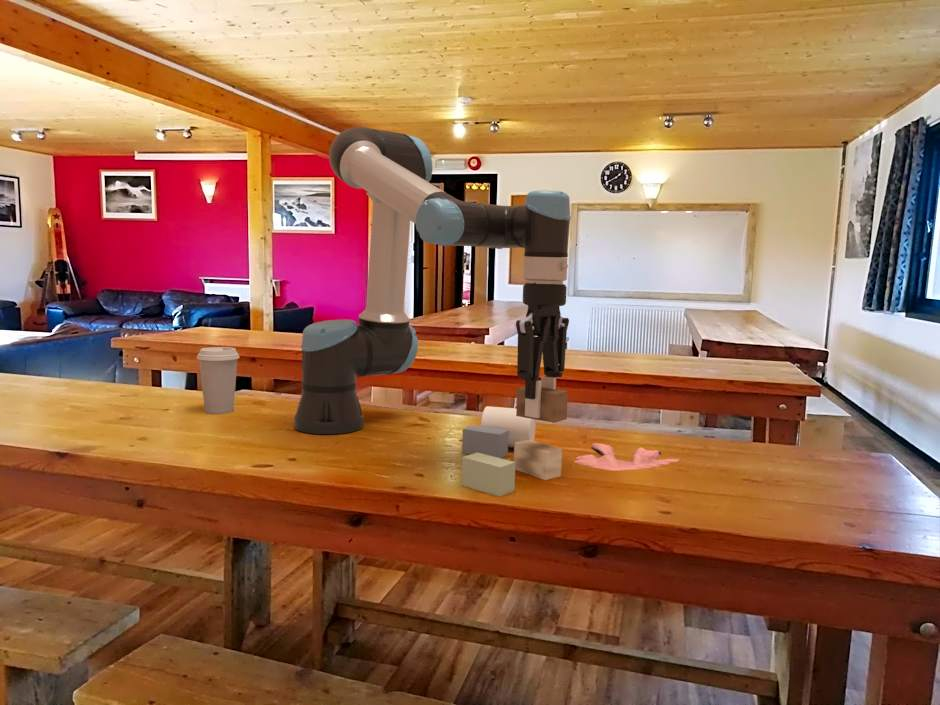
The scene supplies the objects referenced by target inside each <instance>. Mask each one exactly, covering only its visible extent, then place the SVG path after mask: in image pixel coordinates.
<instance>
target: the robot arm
mask: <svg viewBox="0 0 940 705" xmlns="http://www.w3.org/2000/svg"><path fill="white" fill-rule="evenodd" d="M328 157H329V158H328V160H329V164H330V168H331V169H332V171H333V173H334V175H335V176H337V178H338V179H339V180H341V181H342V182H343V183H345V184H346V185H347V186H348V187H349V186H350V187H351V188H354V189H363V190H365V191H366V195H367V196H368V197H369V199H370V200H371V201H372V211H371V214H372V215H371V227H370V240H369V241H370V242H369V243H370V244H369V258H368V272H367V273H368V275H367V288H366V303H365V304H366V306H365V310H362V312H361V313H359V314H358V322H356V321H355V320H353V319H330V320H329V319H328V320H322V321H317V322H314V323H313V322H312V324H309V325H307V326H305V328H304V329H303V331H302V337H301V339H302V340H301V344H300V348H301V370H302V371H301V374H302V375H301V376H302V379H301V380H302V383H301V384H302V385H301V386H302V391H301V396H300V399H299V402H298V406H297V410H296V412H295V415H294V418H293V419H294V420H293V425H294V426H293V427H294V429H295V430H296V431H299V432H302V433H306V434H314V435H315V434H316V435H338V434H339V435H340V434H348V433H352V432H356V431H359V430H361V429H362V428H364V425H365V424H364V423H365V422H364V420H365V418H364V413H363V412H362V411H363V410H362V407H361V403H360V401H359V398H358V394H357V378H360V377H363V378H364V377H371V376H382V375H386V376H388V375H394V374H396V373H397V374H398V373H403V372H405V371H406V370H407V369H409V368H410V367H411V366H412V365H413V363H414V362H415V360H416V357H417V354H418V350H419V340H418V339H419V338H418V336H416V335H417V332H416V329H415V328H414V327H413V326H412V325H410V317H408V315H407V314H406V313H405V311H404V309H405V308H404V307H405V299H406V298H405V297H406V285H407V284H406V282H407V273H408V272H407V270H408V258H409V257H408V256H409V243H410V231H411V230H410V229H411V222H412V223H414V224H415V230H416V232H418V234H419V237H420V240H422V241H423V242H425V243H427V244H433V245H435V244H436V245H438V246H441V247H447V246H461V247H481V248H489V249H497V250H502V249H515V248H516V249H518V248H520V249H521V248H522V249H524V250H523V251H524V253H523V256H524V257H523V272H522V273H523V274H522V275H523V276H522V278H523V280H524V281H526V283H524V284H523V285H522V303H523V304H524V305H527V310H526V315H525V318H523V319H522V320H519V319H518V320H516V322H515V327H516V332H517V368H516V369H517V370H516V372H517V373H516V375H517V377H518V378H519V379H520V380H524V381H525V386H524V387H525V416H528V417H533V418H540V404H541V387H542V388H548V389H556V390H557V378H562V377H563V373H564V371H565V367H566V366H565V365H566V349H567V348H566V346H567V335H568V334H567V331H568V328H569V323H570V319H569V317H562V316H561V309H560V307H562V306H565V305H566V304H567V290H568V288H567V286H566V284H564V282H565V281H566V280H567V278H568V276H567V275H568V268H569V265H568V257H569V252H568V251H569V250H568V249H569V236H570V224H571V223H570V222H571V210H570V209H571V207H570V206H571V205H570V204H571V203H570V196H569V194H568V193H566V192H564V191H561V190H547V189H545V190H543V189H541V190H533V191H529V192H528V193H527V195H526V198H525V202H524V204H522V205H499V204H489V203H481V202H472V201H463V200H460V199H457V198H455V197H454V196H452V195H451V194H450V193H447V192H446V191H444V190H442V189H440V187H437V186H435V185H434V184H433V183H430V181H431V180H432V175H433V160H432V155H431V152H430V150H429V148H428V147H427V145H426V143H425V141H423V140H421V139H420V138H418V137H417V136H412V135H409V134H408V133H402V132H401V133H400V132H394V131H388V130H381V129H376V128H375V129H374V128H371V127H366V126H365V127H364V126H355V127H350V128H347V129H344V130H343V131H342V132H340V133H339V134H337V136H336V137H334V139H333V141H332V143H331V145H330V148H329V153H328ZM542 364H543V374H544V375H541V376H540V370H541V365H542ZM539 377H540V380H539Z"/></svg>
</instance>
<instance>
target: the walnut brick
mask: <svg viewBox="0 0 940 705" xmlns="http://www.w3.org/2000/svg"><path fill="white" fill-rule="evenodd" d="M515 409H516V416H519V417H524V418H530V419H536V420H537V421H542V422H547V423H555V424H556V423H559V422H562V421H566V420H567V418H568V390H563V389H561V390H560V389H557V388H556V389H548V388H542V387H541V404H540V418H533V417H528V416H525V386H522V387H518V388H516V408H515Z"/></svg>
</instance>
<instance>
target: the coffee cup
mask: <svg viewBox="0 0 940 705" xmlns="http://www.w3.org/2000/svg"><path fill="white" fill-rule="evenodd" d="M238 359H240V354H239V353H238V352H237V348H235V347H229V346H228V347H227V346H214V347H213V346H212V347H211V346H210V347H202V348H200V349H199V352H198V354H197V355H196V360H198V362H199V371H200V382H201V390H202V400H203V408H204V412H205V413H206V414H209V415H210V414H211V415H223V414H224V413H225V414H230V413H233V412H234V411H235V410H234V409H235V398H236V396H235V394H236V385H237V384H236V383H237V382H236V380H237V369H238V368H237V367H238Z"/></svg>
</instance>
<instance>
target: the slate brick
mask: <svg viewBox="0 0 940 705" xmlns="http://www.w3.org/2000/svg"><path fill="white" fill-rule="evenodd" d="M508 434H509V430H504V429H497V428H490V427H483V426H481V425H475V424H471V425H469V426H466V427H464V428H462V440H461V441H462V443H461V444H462V445H461V447H462V448H461V449H462V450H461V453H462V454H465V455H471V454H474V453H477V452H478V453H482V454H485V455H489V456H493V457H497V458H501V459H504V458H505V457H506V456H508V455H509V447H508Z"/></svg>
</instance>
